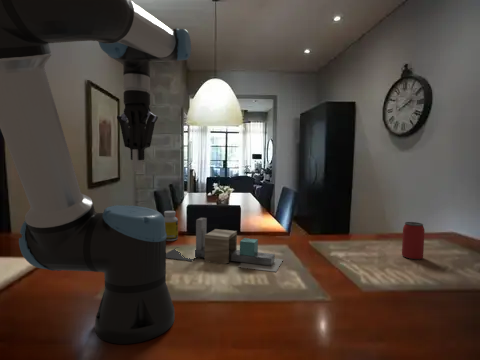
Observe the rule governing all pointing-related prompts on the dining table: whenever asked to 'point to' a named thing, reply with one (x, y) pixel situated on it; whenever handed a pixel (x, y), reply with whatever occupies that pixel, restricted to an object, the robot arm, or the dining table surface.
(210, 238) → the tunnel
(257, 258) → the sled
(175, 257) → the grey shoe shape
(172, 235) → the pill bottle
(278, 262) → the mat
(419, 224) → the beer can
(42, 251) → the robot arm
